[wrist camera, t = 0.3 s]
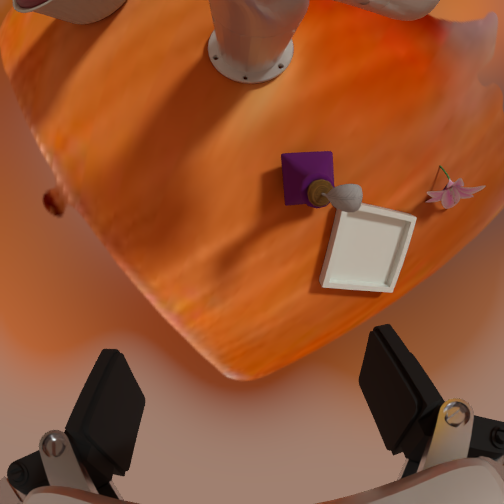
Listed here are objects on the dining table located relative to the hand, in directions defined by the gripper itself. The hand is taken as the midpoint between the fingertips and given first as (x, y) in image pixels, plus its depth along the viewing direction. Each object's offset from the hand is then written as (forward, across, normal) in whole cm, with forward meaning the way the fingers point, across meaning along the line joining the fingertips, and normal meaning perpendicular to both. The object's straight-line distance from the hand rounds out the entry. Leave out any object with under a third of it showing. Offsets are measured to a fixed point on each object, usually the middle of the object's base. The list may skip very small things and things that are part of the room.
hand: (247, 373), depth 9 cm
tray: (+34, -22, +10) cm, 42 cm away
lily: (+35, -37, 0) cm, 51 cm away
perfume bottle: (+35, -10, -2) cm, 36 cm away
